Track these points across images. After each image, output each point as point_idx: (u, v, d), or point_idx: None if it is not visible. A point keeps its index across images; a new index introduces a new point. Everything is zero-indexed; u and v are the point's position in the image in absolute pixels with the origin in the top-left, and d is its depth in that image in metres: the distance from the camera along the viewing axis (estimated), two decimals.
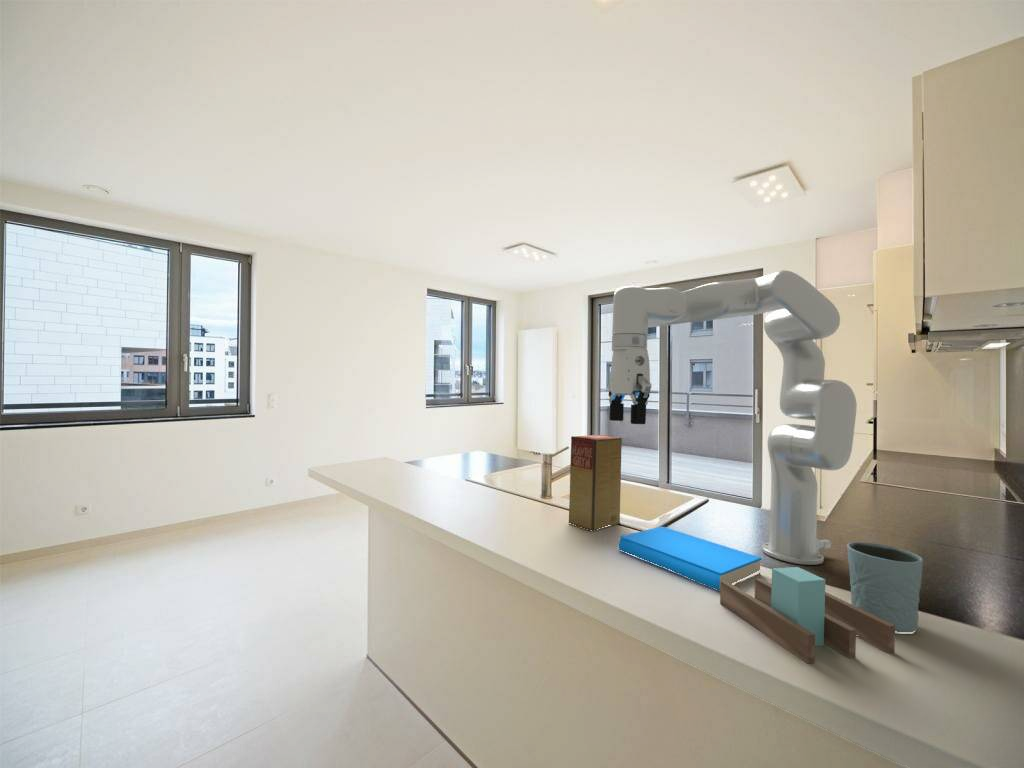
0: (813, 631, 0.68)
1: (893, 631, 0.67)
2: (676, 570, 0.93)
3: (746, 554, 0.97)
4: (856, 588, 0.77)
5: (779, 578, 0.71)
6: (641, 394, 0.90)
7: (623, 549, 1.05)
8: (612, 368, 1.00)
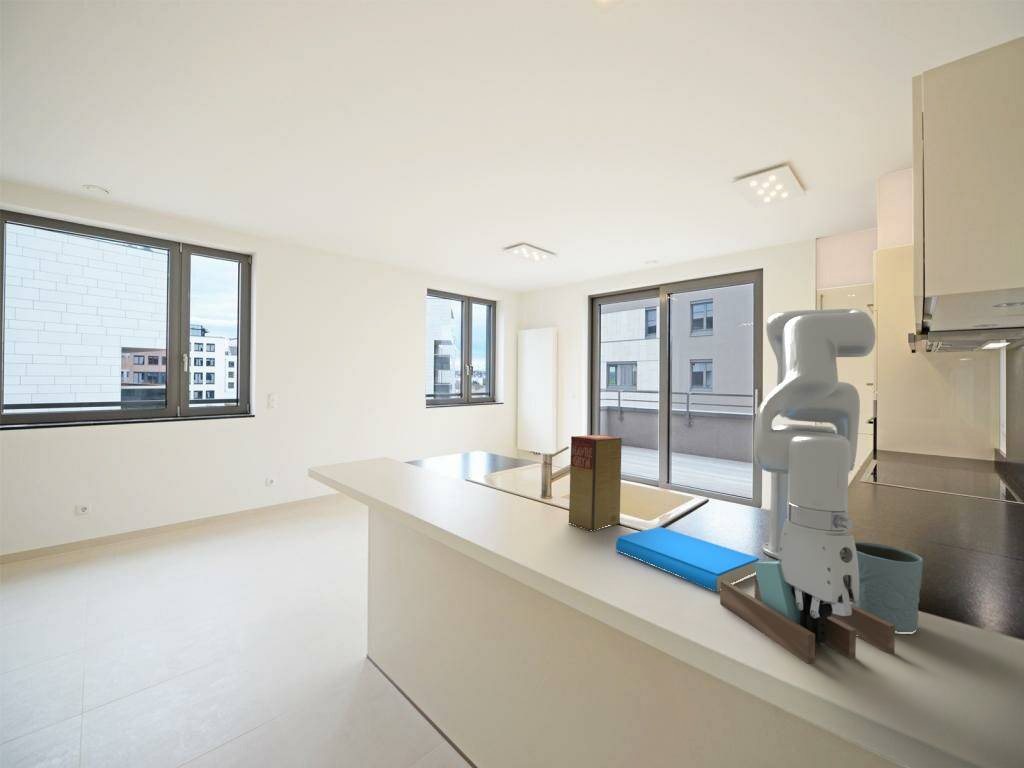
0: None
1: (893, 631, 0.67)
2: (673, 571, 0.93)
3: (744, 554, 0.97)
4: None
5: (761, 569, 0.74)
6: (828, 608, 0.64)
7: (620, 550, 1.04)
8: (785, 546, 0.70)
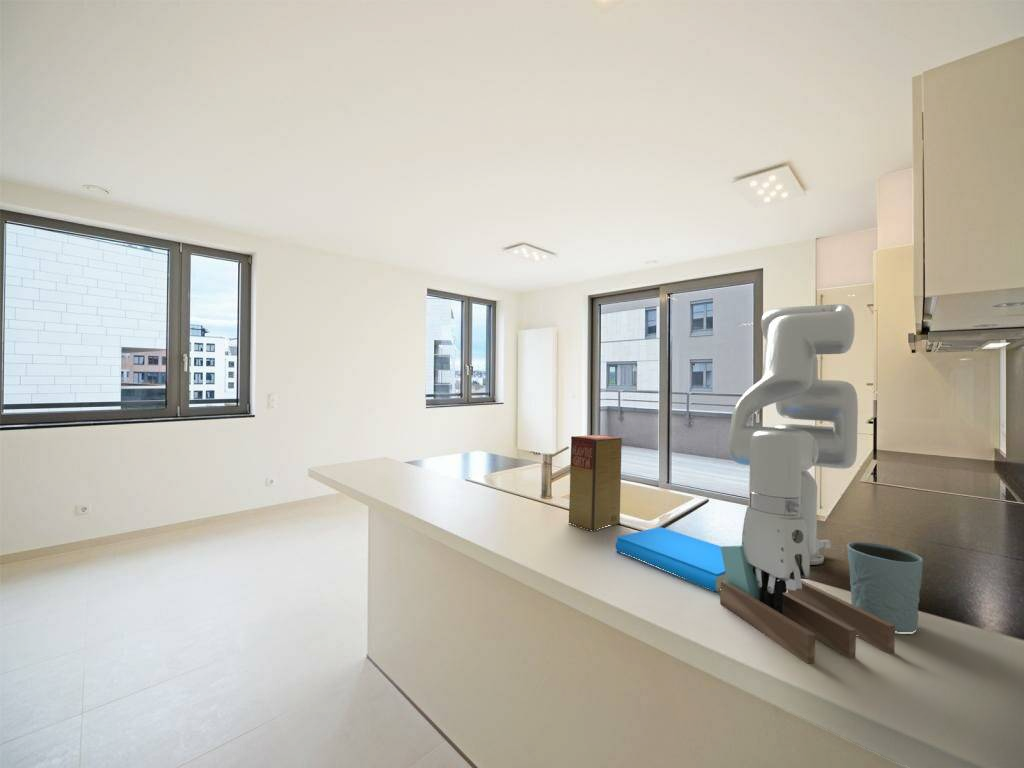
0: None
1: (893, 631, 0.67)
2: (673, 571, 0.93)
3: None
4: (856, 588, 0.77)
5: (726, 552, 0.82)
6: (782, 584, 0.72)
7: (620, 550, 1.04)
8: (747, 530, 0.78)
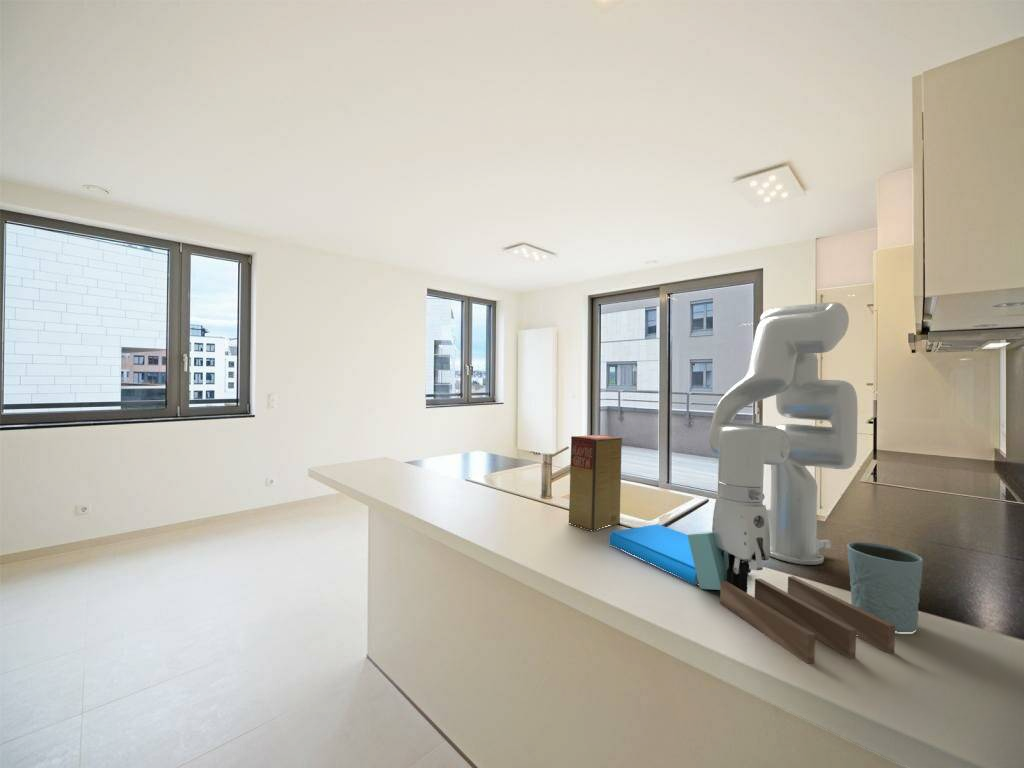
0: None
1: (893, 631, 0.67)
2: (658, 565, 0.96)
3: None
4: (856, 588, 0.77)
5: (694, 539, 0.88)
6: (745, 565, 0.79)
7: (613, 544, 1.08)
8: (716, 517, 0.85)
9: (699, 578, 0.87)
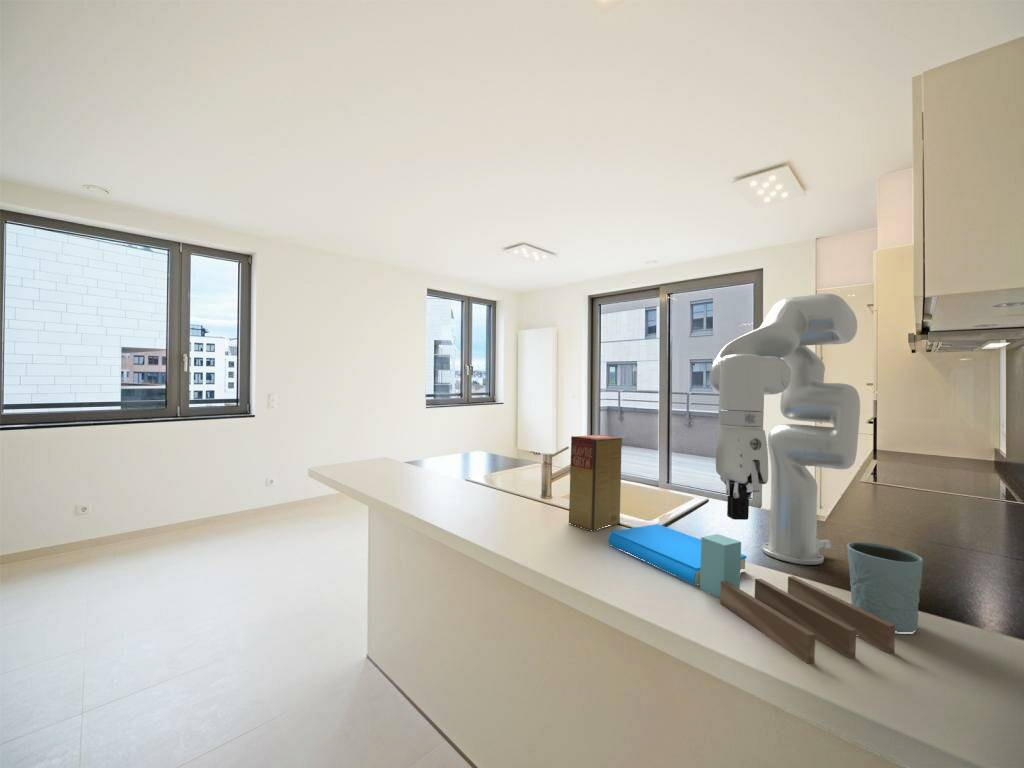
0: (733, 584, 0.84)
1: (893, 631, 0.67)
2: (657, 565, 0.96)
3: None
4: (856, 588, 0.77)
5: (707, 544, 0.86)
6: (743, 488, 0.80)
7: (612, 544, 1.08)
8: (719, 446, 0.86)
9: (702, 580, 0.86)
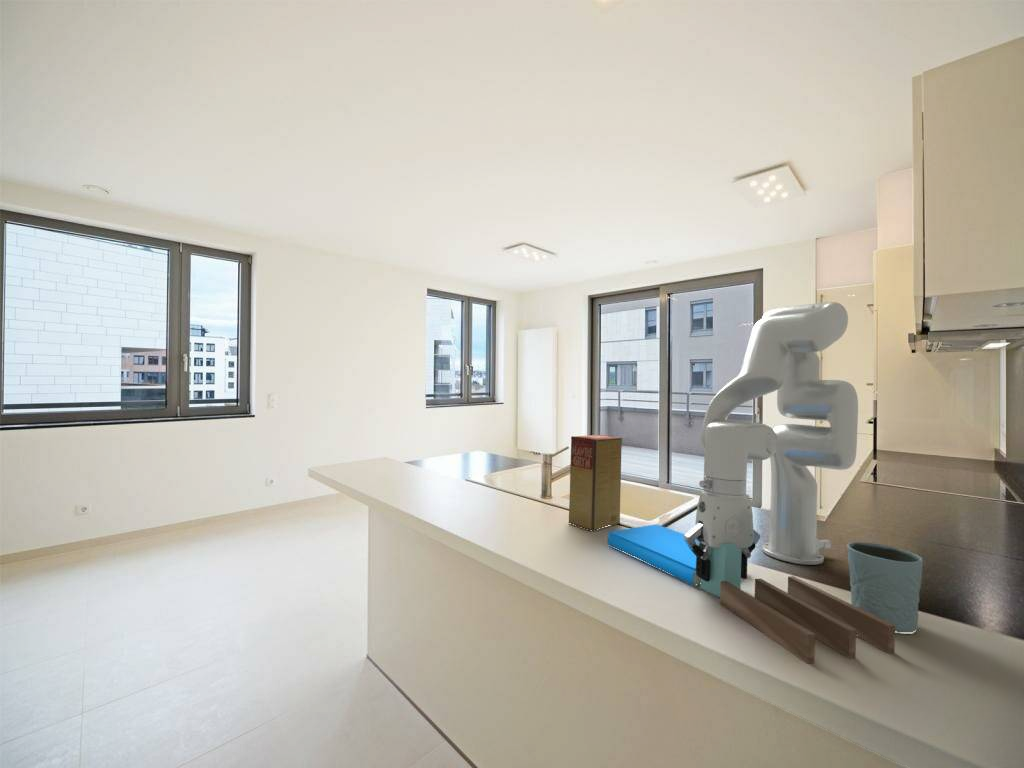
0: (734, 584, 0.84)
1: (893, 631, 0.67)
2: (656, 565, 0.96)
3: None
4: (856, 588, 0.77)
5: None
6: None
7: (611, 544, 1.08)
8: None
9: (702, 579, 0.86)
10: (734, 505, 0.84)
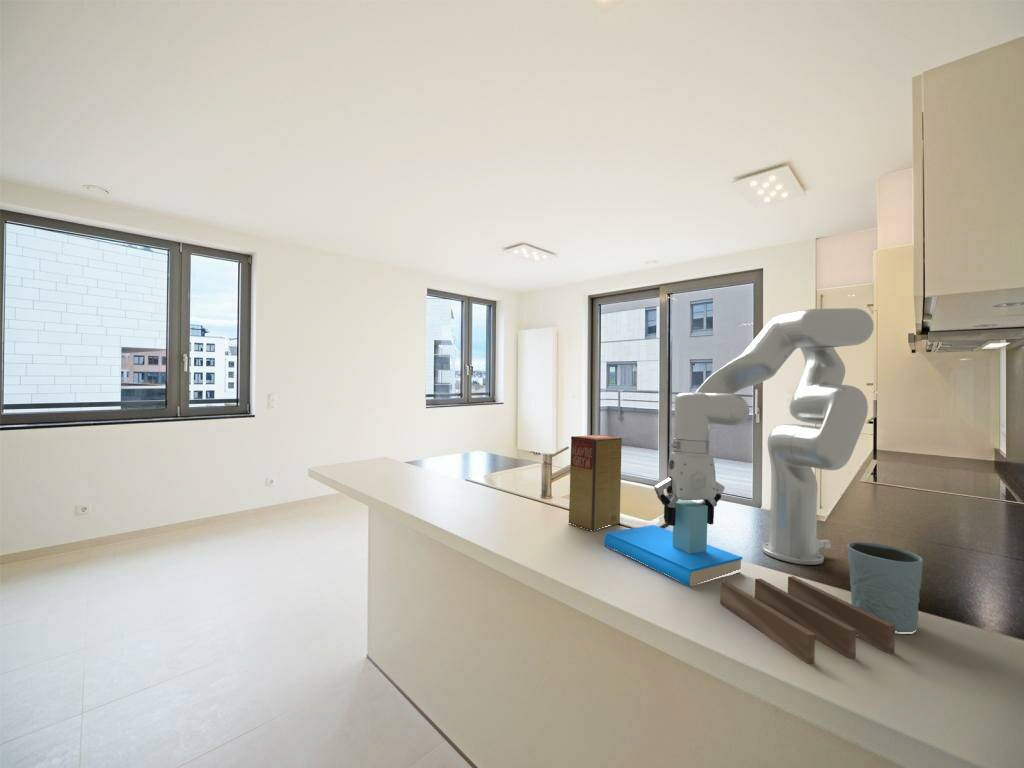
0: (699, 541, 0.97)
1: (893, 631, 0.67)
2: (652, 566, 0.95)
3: (727, 553, 0.97)
4: (856, 588, 0.77)
5: (678, 507, 1.00)
6: None
7: (608, 545, 1.08)
8: None
9: (674, 538, 1.00)
10: (698, 463, 0.98)
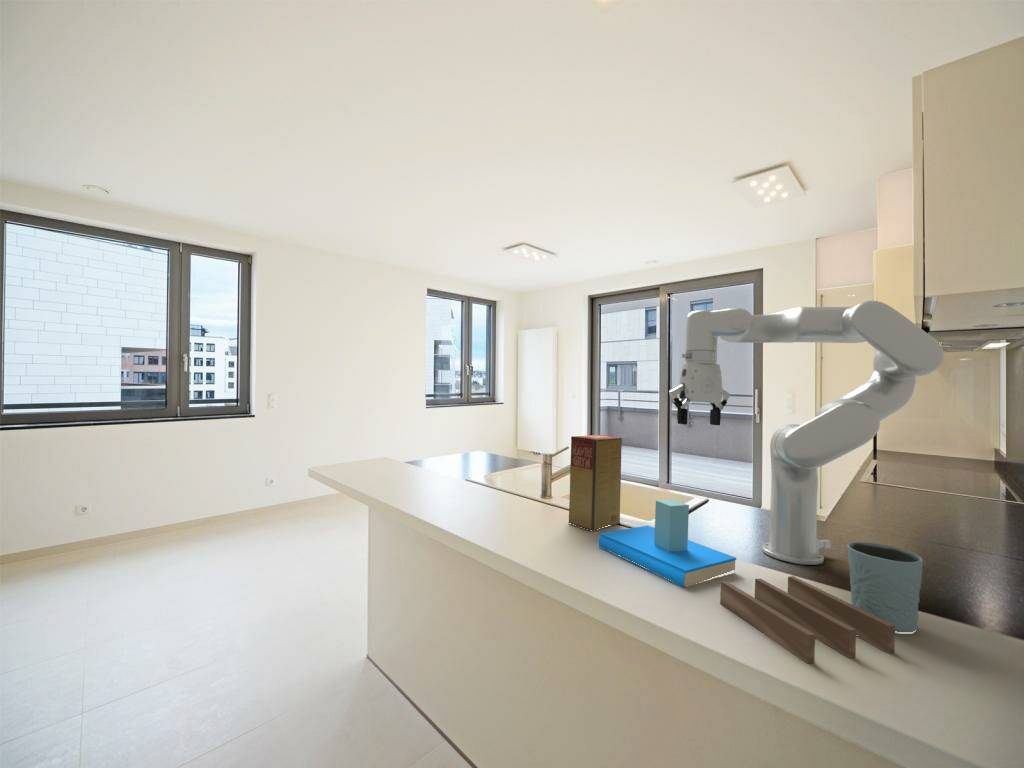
0: (680, 540, 0.98)
1: (893, 631, 0.67)
2: (647, 567, 0.95)
3: (722, 554, 0.97)
4: (856, 588, 0.77)
5: (659, 506, 1.01)
6: None
7: (602, 546, 1.07)
8: None
9: (655, 536, 1.01)
10: (707, 370, 1.13)
